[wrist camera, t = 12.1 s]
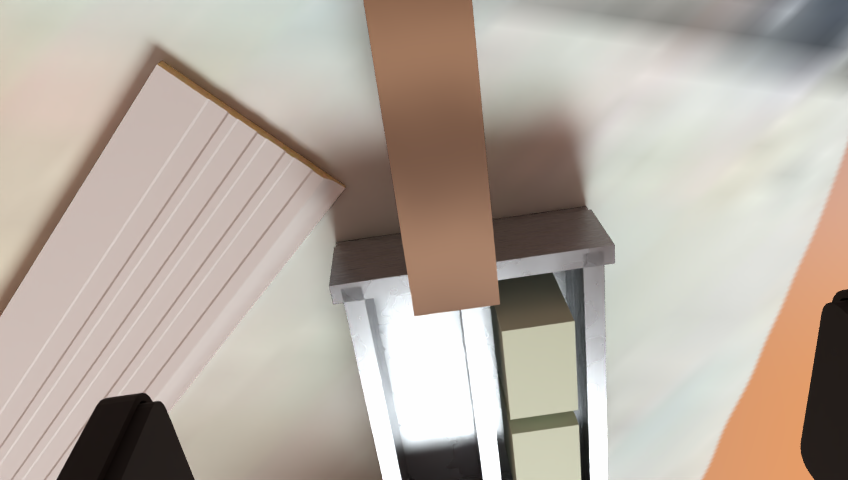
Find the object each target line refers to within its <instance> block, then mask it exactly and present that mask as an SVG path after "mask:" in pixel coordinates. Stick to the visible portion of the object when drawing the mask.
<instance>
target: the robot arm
mask: <svg viewBox="0 0 848 480" xmlns="http://www.w3.org/2000/svg"><path fill="white" fill-rule="evenodd" d="M801 455H802V458H803V461H804V463H805V466H806V468H807V469H808V471H809V473H810V474H811V476H812V477H813V478H814V480H848V289H847V290H842V291H839V292H837V293H836V295H835V296H834V298H833V301H832V302H831V303H828V304H826V305H825V306H824V308H823V311H822V315H821V321H820V327H819V333H818V339H817V346H816V352H815V358H814V364H813V370H812V377H811V383H810V390H809V395H808V401H807V408H806V414H805V420H804V426H803V432H802V438H801ZM56 480H194V477H193V475H192V472H191V470H190V467H189V465H188V462H187V460H186V457H185V455H184V452H183V450H182V447H181V445H180V442H179V440H178V437H177V435H176V432H175V430H174V427H173V425H172V422H171V420H170V417H169V415H168V412H167V410H166V407H165V406H164V404H163V403H162V402H161V401H154V402H153V401H152V399H151V398H150V396H149V395H147V394H146V393H137V394H130V395H123V396H116V397H109V398H104V399H102V400H100V402H99V403H98V404H97V405H96V407H95V409H94V411H93V413H92V415H91V416H90V418H89V420H88V422H87V424H86V426H85V428H84V429H83V431H82V433H81V435H80V437H79V439H78V440H77V442H76V444H75V446H74V448H73V450H72V452H71V453H70V455H69V457H68V459H67V461H66V463H65V464H64V466H63V468H62V470H61V472H60V474H59V476H58V477H57V479H56Z"/></svg>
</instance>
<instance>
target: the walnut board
mask: <svg viewBox="0 0 848 480" xmlns="http://www.w3.org/2000/svg"><path fill="white" fill-rule="evenodd" d="M363 1H364V7H365V13H366V20H367V26H368V32H369V38H370V45H371V51H372V57H373V63H374V69H375V76H376V82H377V88H378V94H379V100H380V107H381V113H382V119H383V125H384V131H385V138H386V144H387V150H388V156H389V162H390V169H391V175H392V181H393V187H394V193H395V200H396V206H397V212H398V218H399V224H400V231H401V237H402V243H403V249H404V255H405V262H406V268H407V274H408V280H409V286H410V293H411V299H412V305H413V311H414V316H421V315H429V314H436V313H443V312H450V311H457V310H464V309H472V308H479V307H486V306H493V305H500V298H499V288H498V277H497V266H496V255H495V244H494V234H493V223H492V212H491V201H490V190H489V179H488V169H487V158H486V147H485V136H484V125H483V115H482V104H481V93H480V82H479V71H478V60H477V50H476V39H475V28H474V17H473V6H472V0H363Z"/></svg>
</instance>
